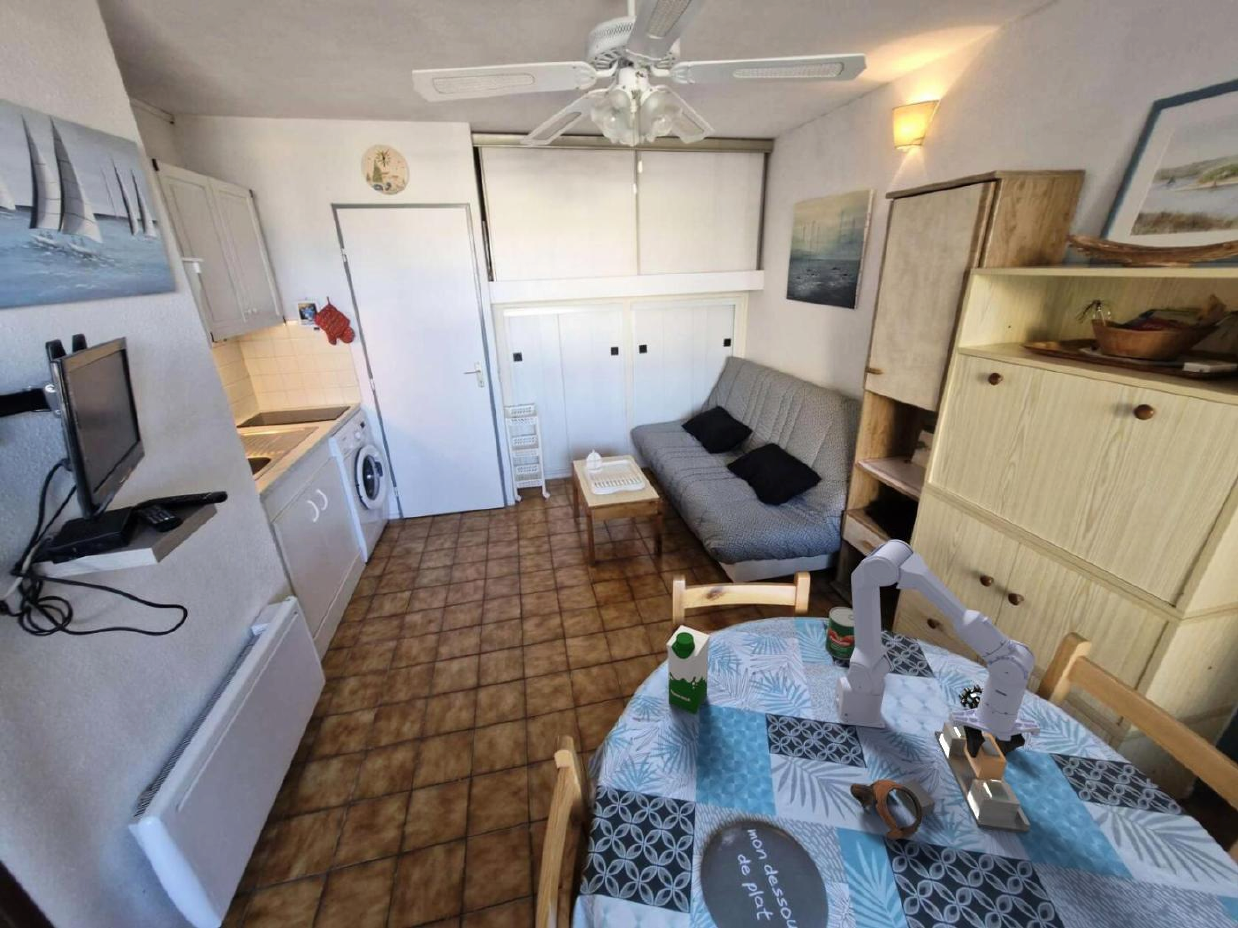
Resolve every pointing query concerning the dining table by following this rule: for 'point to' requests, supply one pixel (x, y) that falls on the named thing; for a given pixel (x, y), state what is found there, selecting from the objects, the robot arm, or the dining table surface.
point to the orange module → (988, 760)
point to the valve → (973, 697)
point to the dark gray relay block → (921, 795)
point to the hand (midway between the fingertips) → (983, 754)
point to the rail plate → (965, 786)
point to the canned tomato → (840, 633)
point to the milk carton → (688, 668)
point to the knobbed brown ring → (879, 793)
